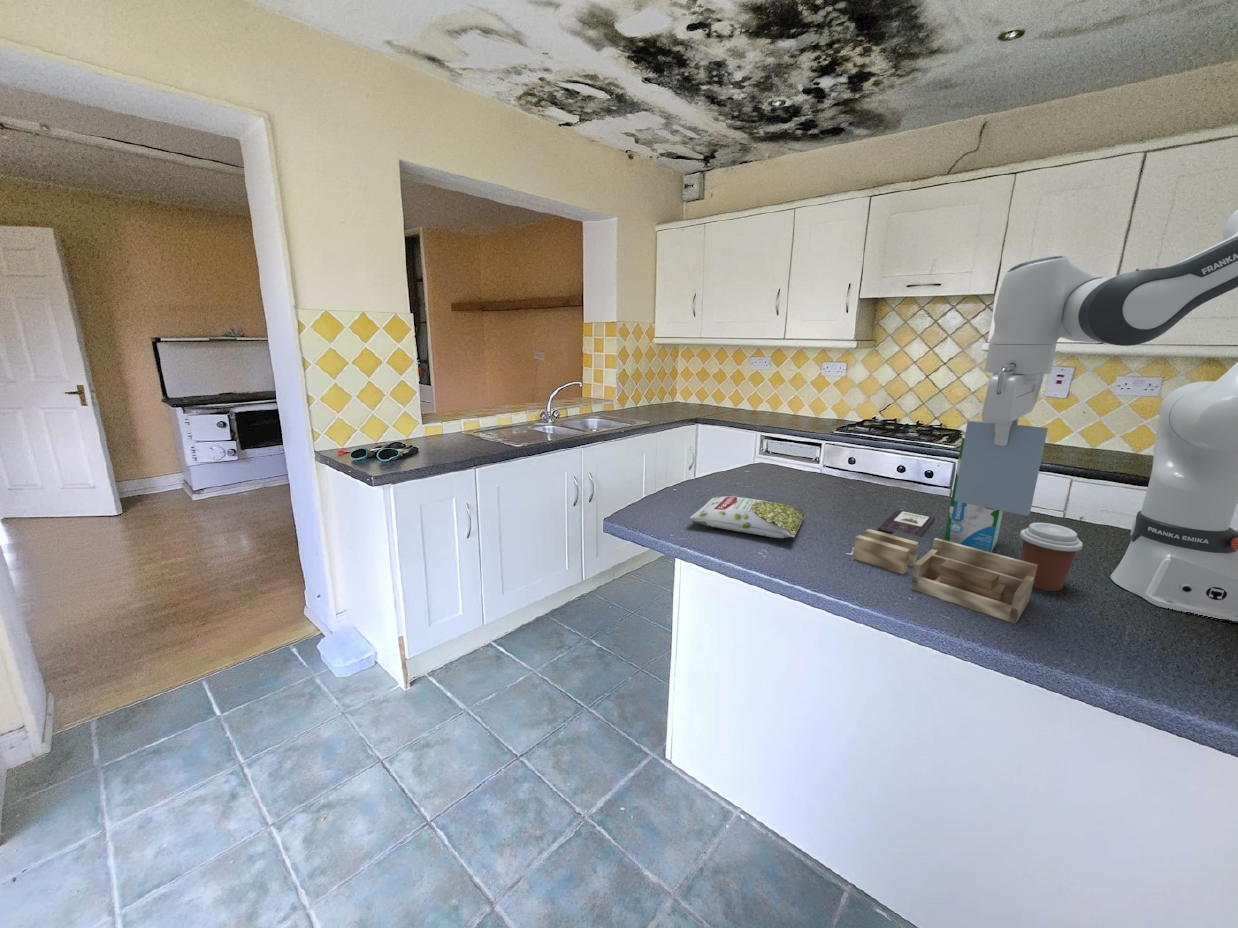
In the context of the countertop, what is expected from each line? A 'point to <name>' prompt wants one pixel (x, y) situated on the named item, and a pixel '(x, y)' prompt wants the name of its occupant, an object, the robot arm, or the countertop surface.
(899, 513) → the chocolate bar
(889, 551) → the stand
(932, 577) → the rack
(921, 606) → the countertop surface
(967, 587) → the offcut
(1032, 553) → the coffee cup
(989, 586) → the offcut
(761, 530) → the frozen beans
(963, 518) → the milk carton
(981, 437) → the sheet
